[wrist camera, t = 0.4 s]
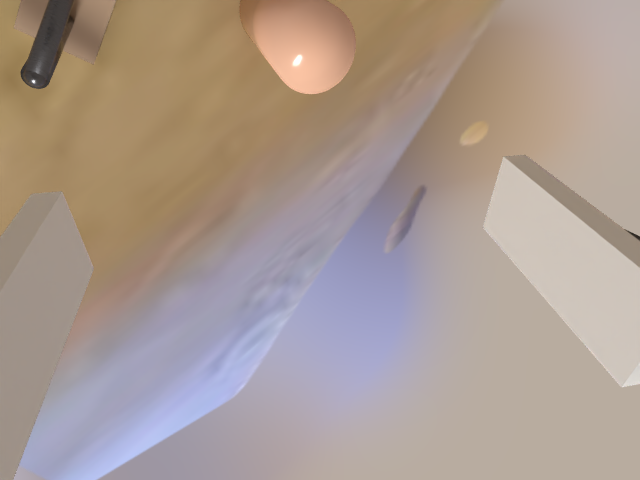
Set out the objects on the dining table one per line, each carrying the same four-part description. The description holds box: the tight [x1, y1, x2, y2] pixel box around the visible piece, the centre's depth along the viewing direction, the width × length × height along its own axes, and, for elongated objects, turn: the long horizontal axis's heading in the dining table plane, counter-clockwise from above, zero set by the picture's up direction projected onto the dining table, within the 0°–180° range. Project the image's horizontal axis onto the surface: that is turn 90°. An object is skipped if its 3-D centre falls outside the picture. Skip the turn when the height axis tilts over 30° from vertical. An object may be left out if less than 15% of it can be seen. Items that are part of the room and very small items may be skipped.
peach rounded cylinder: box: [240, 0, 356, 94], centre depth 30 cm, size 6×6×11 cm
